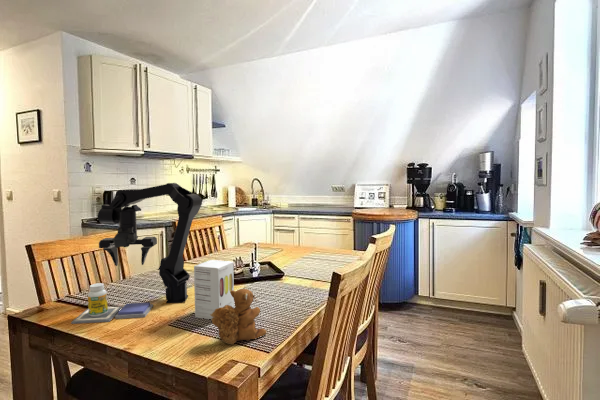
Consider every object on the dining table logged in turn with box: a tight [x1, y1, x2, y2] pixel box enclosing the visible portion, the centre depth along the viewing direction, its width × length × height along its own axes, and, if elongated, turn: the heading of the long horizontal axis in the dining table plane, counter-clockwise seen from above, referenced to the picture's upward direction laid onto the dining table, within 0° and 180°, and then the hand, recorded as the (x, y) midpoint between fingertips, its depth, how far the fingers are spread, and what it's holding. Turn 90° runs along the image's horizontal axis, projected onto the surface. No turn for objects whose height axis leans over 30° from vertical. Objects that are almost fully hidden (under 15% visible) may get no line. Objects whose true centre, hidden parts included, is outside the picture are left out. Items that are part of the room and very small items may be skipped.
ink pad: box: [114, 302, 154, 320], centre depth 117 cm, size 9×9×2 cm
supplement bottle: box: [87, 282, 109, 317], centre depth 114 cm, size 5×5×10 cm
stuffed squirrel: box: [210, 288, 267, 345], centre depth 98 cm, size 10×14×13 cm
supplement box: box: [193, 259, 235, 321], centre depth 115 cm, size 10×9×17 cm
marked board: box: [70, 306, 123, 325], centre depth 114 cm, size 11×11×1 cm
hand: (129, 265), depth 131 cm, fingers open, 9 cm apart
